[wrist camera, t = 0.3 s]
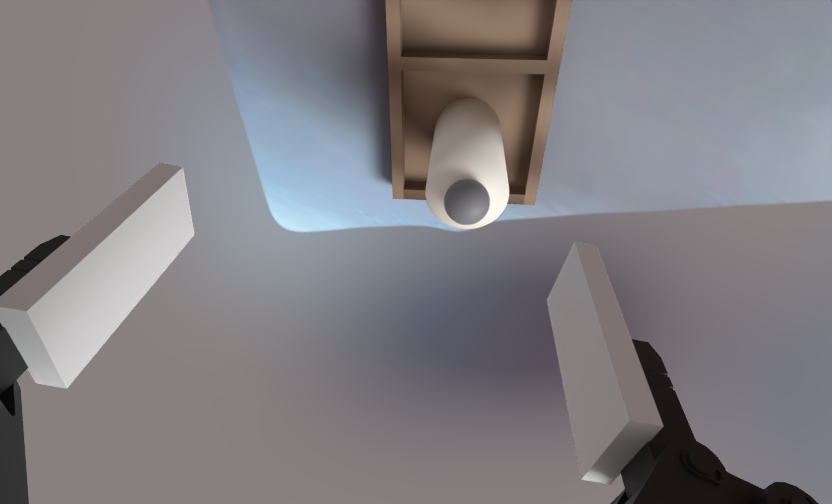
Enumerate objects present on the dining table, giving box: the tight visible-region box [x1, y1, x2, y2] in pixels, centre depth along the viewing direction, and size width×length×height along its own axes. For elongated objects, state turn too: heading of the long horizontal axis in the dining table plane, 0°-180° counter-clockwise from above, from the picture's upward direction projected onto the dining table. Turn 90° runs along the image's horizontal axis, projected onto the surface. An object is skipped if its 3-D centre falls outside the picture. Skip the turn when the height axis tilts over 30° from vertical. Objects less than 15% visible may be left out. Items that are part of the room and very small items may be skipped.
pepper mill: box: [425, 98, 509, 229], centre depth 34 cm, size 6×6×14 cm
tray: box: [385, 0, 572, 205], centre depth 36 cm, size 24×13×2 cm, turn 0°
